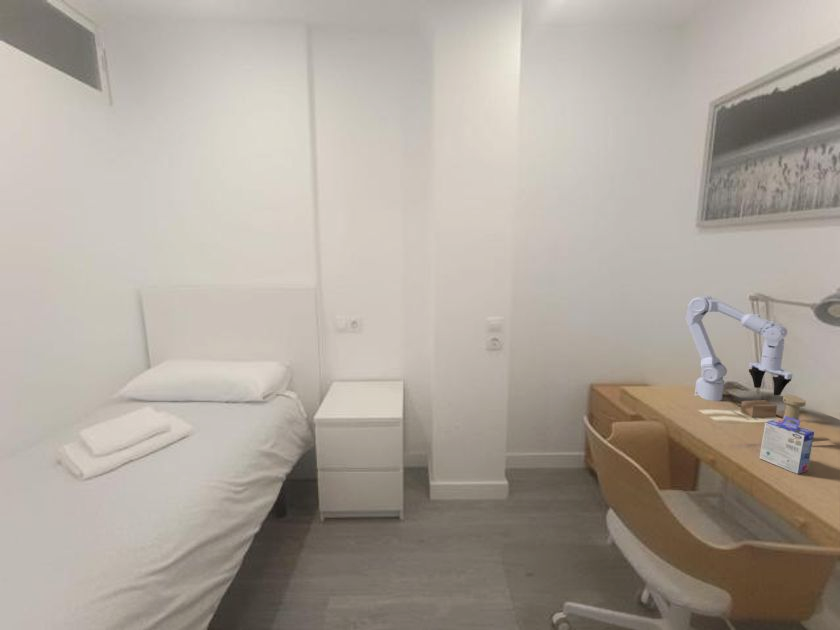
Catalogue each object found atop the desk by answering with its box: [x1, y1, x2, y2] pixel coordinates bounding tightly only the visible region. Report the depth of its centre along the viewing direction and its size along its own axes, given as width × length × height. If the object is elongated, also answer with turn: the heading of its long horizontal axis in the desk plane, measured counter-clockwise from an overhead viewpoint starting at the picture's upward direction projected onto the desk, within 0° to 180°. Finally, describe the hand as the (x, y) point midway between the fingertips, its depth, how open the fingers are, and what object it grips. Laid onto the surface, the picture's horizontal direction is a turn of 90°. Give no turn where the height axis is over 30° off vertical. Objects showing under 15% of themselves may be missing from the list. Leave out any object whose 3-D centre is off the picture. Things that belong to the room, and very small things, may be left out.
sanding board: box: [697, 407, 783, 425], centre depth 149 cm, size 16×28×2 cm, turn 92°
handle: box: [782, 394, 807, 424], centre depth 131 cm, size 5×6×15 cm
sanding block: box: [740, 399, 778, 418], centre depth 149 cm, size 5×9×4 cm, turn 92°
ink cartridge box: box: [759, 416, 815, 475], centre depth 118 cm, size 10×6×14 cm, turn 24°
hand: (766, 391), depth 151 cm, fingers open, 7 cm apart
